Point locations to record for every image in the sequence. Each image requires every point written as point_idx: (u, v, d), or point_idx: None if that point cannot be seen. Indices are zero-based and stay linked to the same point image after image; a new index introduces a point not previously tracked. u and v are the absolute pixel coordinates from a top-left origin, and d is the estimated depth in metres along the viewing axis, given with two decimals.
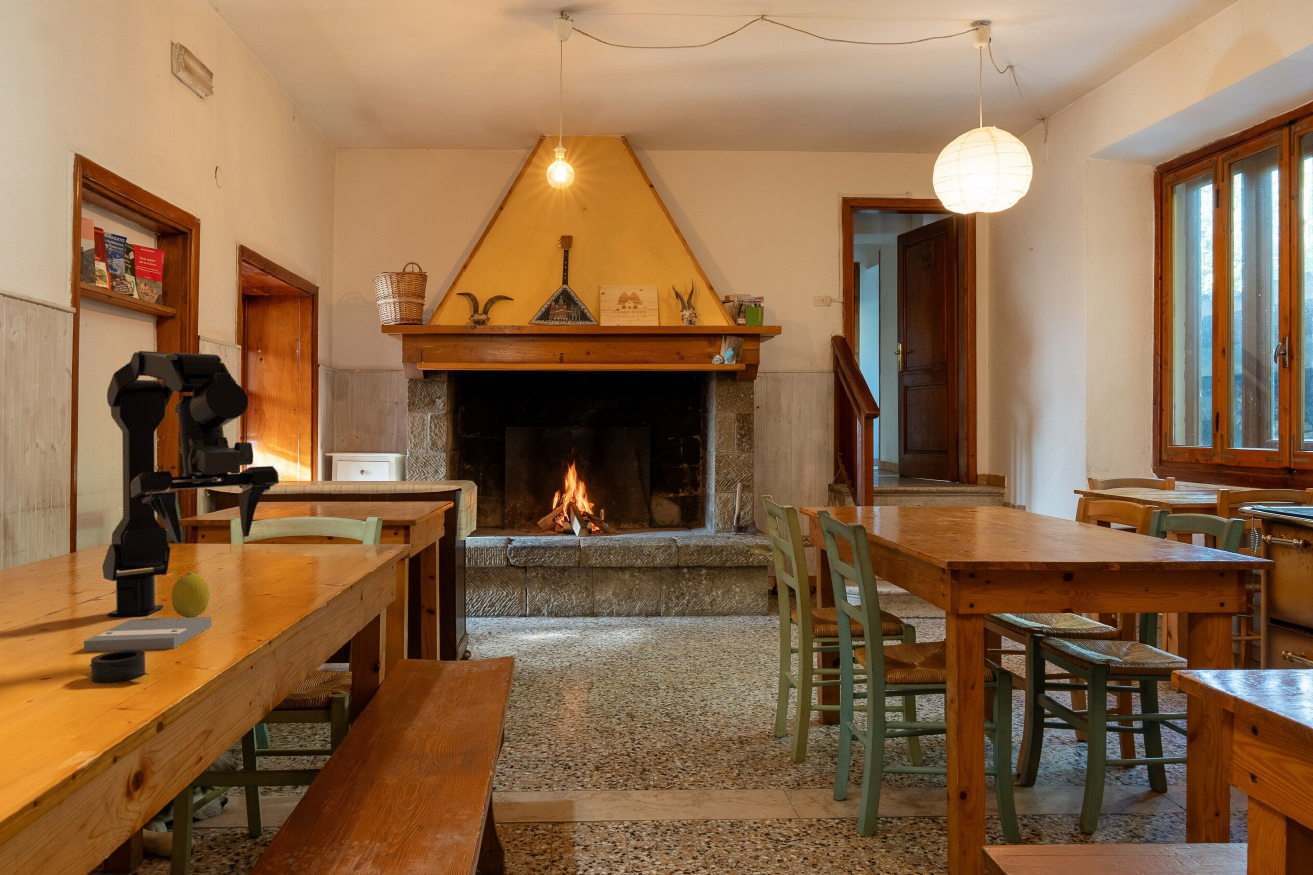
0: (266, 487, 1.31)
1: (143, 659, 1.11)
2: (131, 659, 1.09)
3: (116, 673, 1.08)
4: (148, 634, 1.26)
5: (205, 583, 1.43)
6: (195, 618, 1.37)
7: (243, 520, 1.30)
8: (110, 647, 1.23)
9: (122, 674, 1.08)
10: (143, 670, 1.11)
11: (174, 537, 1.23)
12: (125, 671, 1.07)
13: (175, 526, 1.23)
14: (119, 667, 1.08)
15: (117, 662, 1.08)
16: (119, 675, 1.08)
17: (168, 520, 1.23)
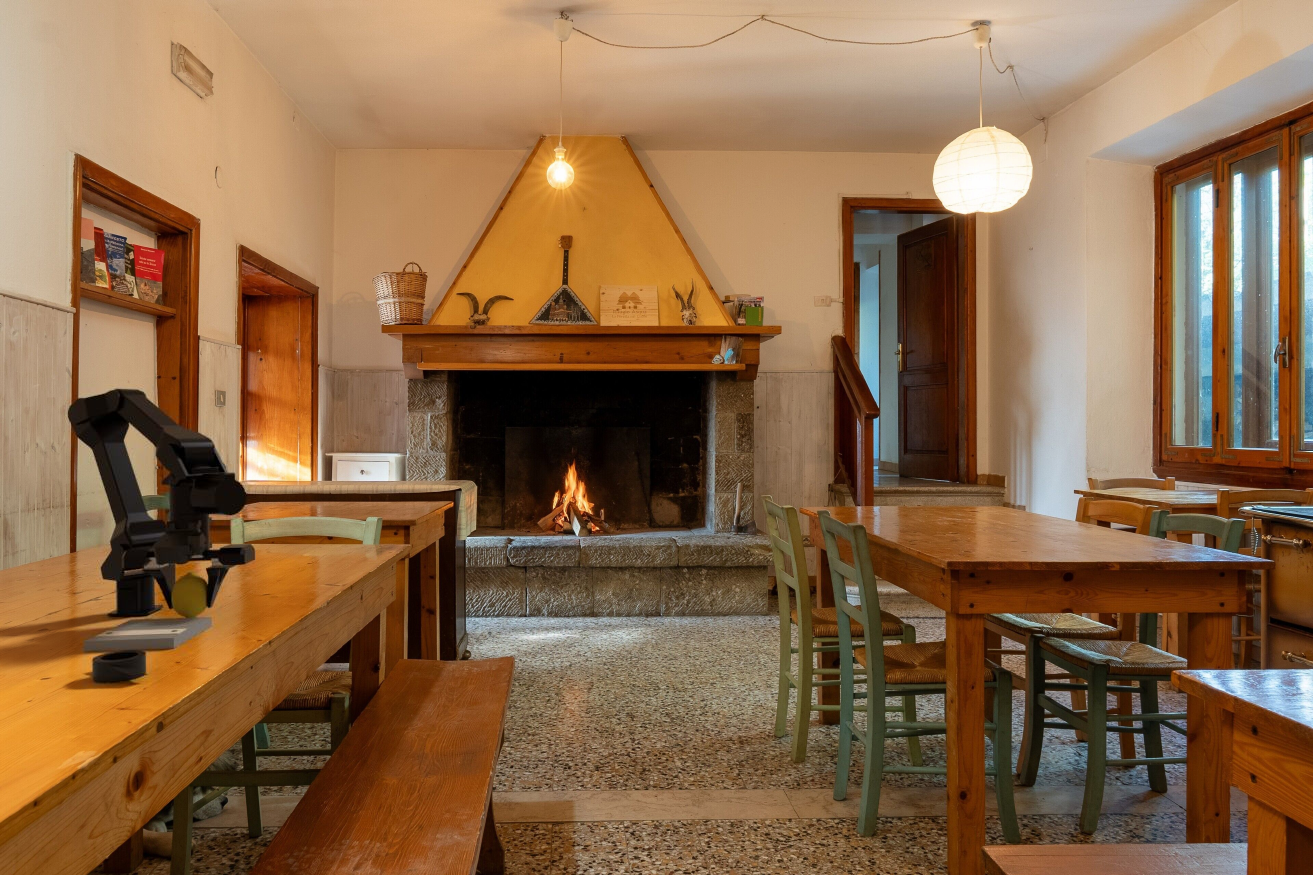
0: (219, 569, 1.41)
1: (144, 659, 1.11)
2: (131, 659, 1.09)
3: (116, 673, 1.08)
4: (148, 634, 1.26)
5: (205, 583, 1.43)
6: (195, 618, 1.37)
7: None
8: (110, 647, 1.23)
9: (122, 674, 1.08)
10: (144, 670, 1.11)
11: None
12: (124, 671, 1.07)
13: (166, 596, 1.41)
14: (119, 667, 1.08)
15: (117, 662, 1.08)
16: (119, 675, 1.08)
17: None
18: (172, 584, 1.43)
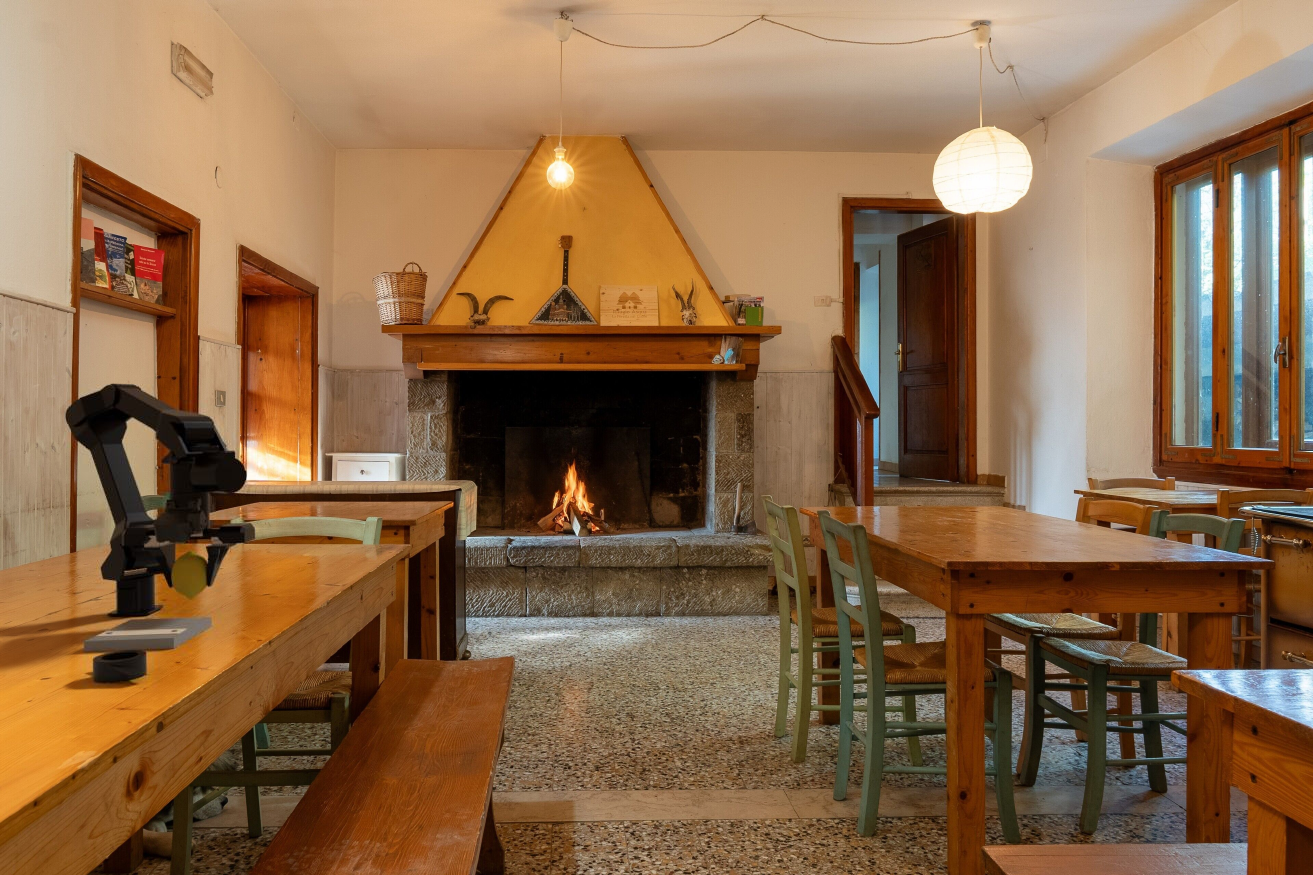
0: (219, 547, 1.40)
1: (144, 659, 1.11)
2: (131, 659, 1.09)
3: (116, 673, 1.08)
4: (148, 634, 1.26)
5: (205, 562, 1.43)
6: (195, 618, 1.37)
7: None
8: (110, 647, 1.23)
9: (122, 674, 1.08)
10: (144, 670, 1.11)
11: None
12: (124, 671, 1.07)
13: (166, 574, 1.41)
14: (119, 667, 1.08)
15: (117, 662, 1.08)
16: (119, 675, 1.08)
17: None
18: (172, 563, 1.43)
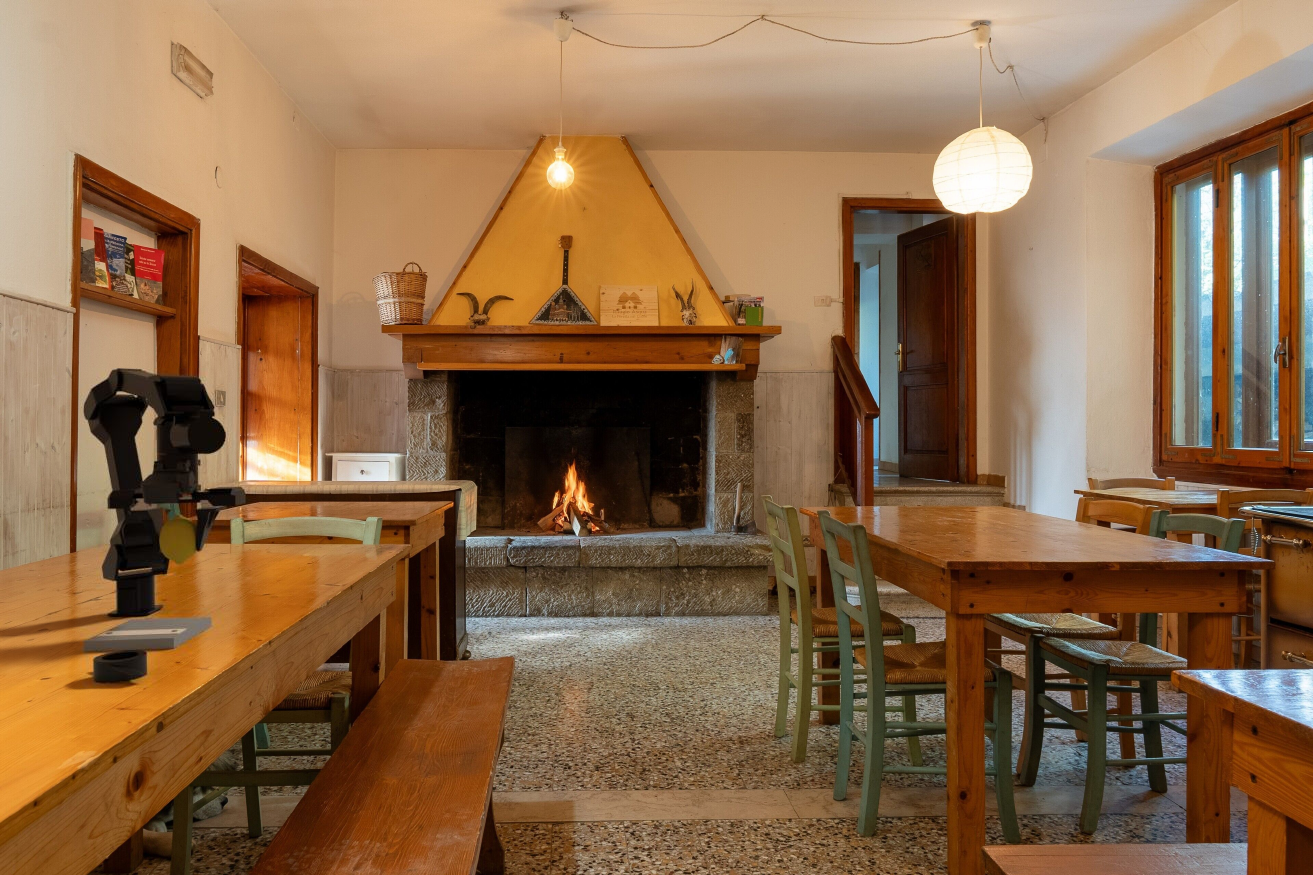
0: (209, 510, 1.36)
1: (144, 659, 1.11)
2: (131, 659, 1.09)
3: (115, 673, 1.08)
4: (148, 634, 1.26)
5: (194, 526, 1.39)
6: (195, 618, 1.37)
7: None
8: (110, 647, 1.23)
9: (121, 674, 1.08)
10: (144, 670, 1.11)
11: None
12: (123, 671, 1.07)
13: (154, 538, 1.37)
14: (118, 667, 1.08)
15: (116, 662, 1.08)
16: (118, 675, 1.08)
17: None
18: (160, 527, 1.39)
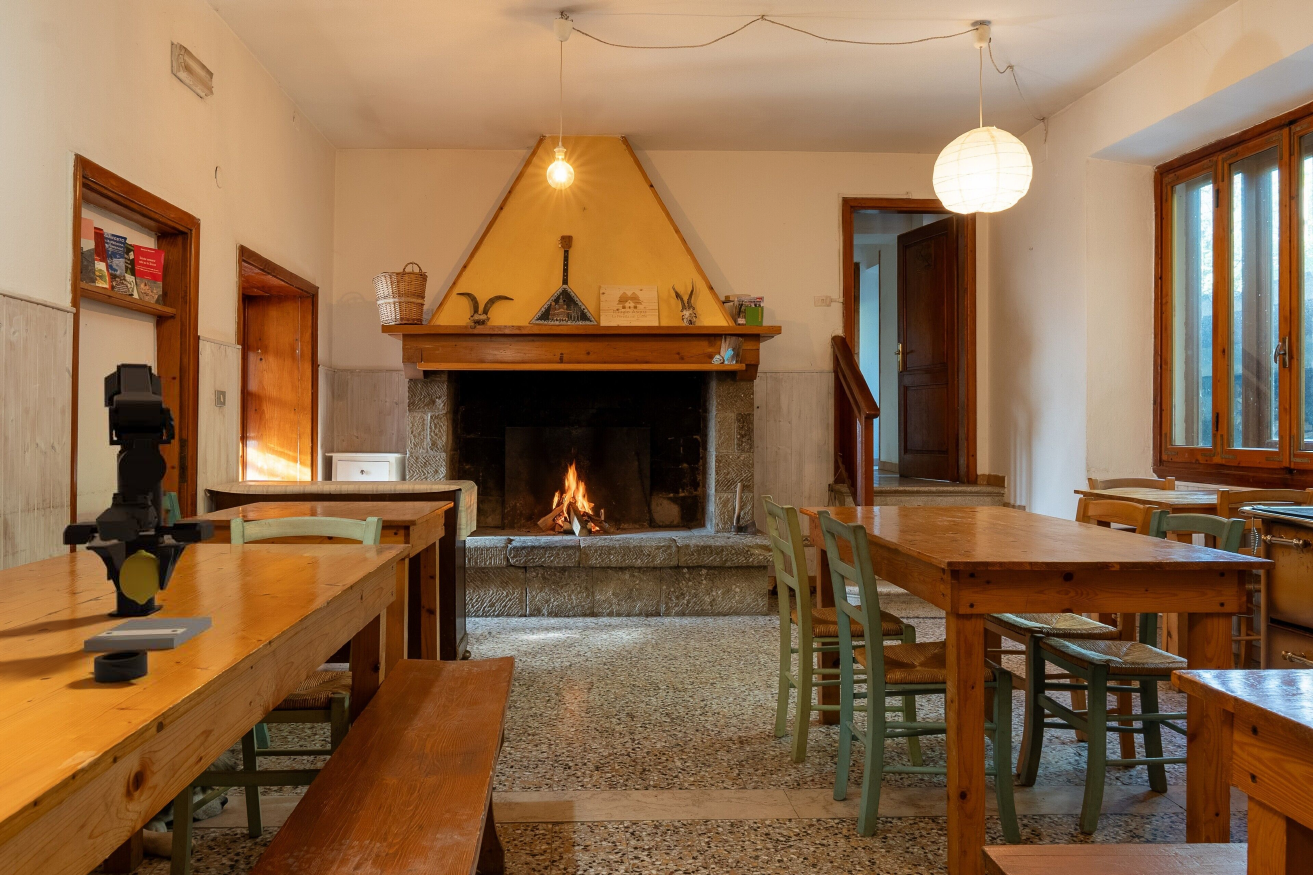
0: (173, 546, 1.26)
1: (145, 660, 1.11)
2: (131, 659, 1.09)
3: (115, 673, 1.08)
4: (148, 634, 1.26)
5: (157, 562, 1.28)
6: (195, 618, 1.37)
7: None
8: (110, 647, 1.23)
9: (121, 674, 1.08)
10: (144, 671, 1.11)
11: None
12: (123, 672, 1.07)
13: (113, 576, 1.26)
14: (118, 667, 1.08)
15: (116, 662, 1.08)
16: (118, 675, 1.08)
17: None
18: (121, 564, 1.28)
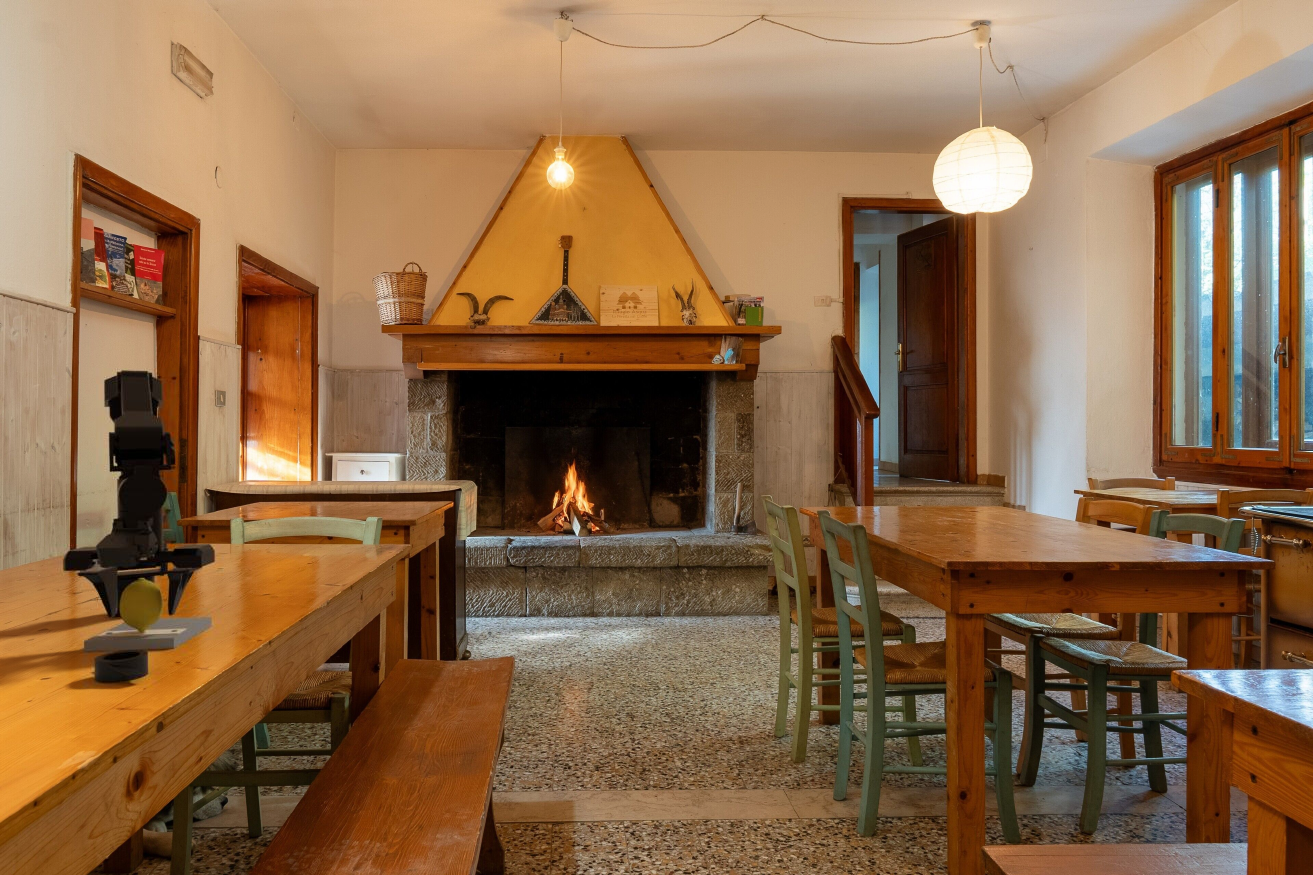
0: (181, 572, 1.26)
1: (145, 660, 1.11)
2: (131, 659, 1.09)
3: (115, 673, 1.08)
4: (148, 634, 1.26)
5: (158, 590, 1.28)
6: (195, 618, 1.37)
7: None
8: (110, 647, 1.23)
9: (121, 674, 1.08)
10: (145, 671, 1.11)
11: None
12: (122, 672, 1.07)
13: (105, 602, 1.26)
14: (118, 667, 1.08)
15: (116, 662, 1.08)
16: (118, 675, 1.08)
17: None
18: (113, 589, 1.28)
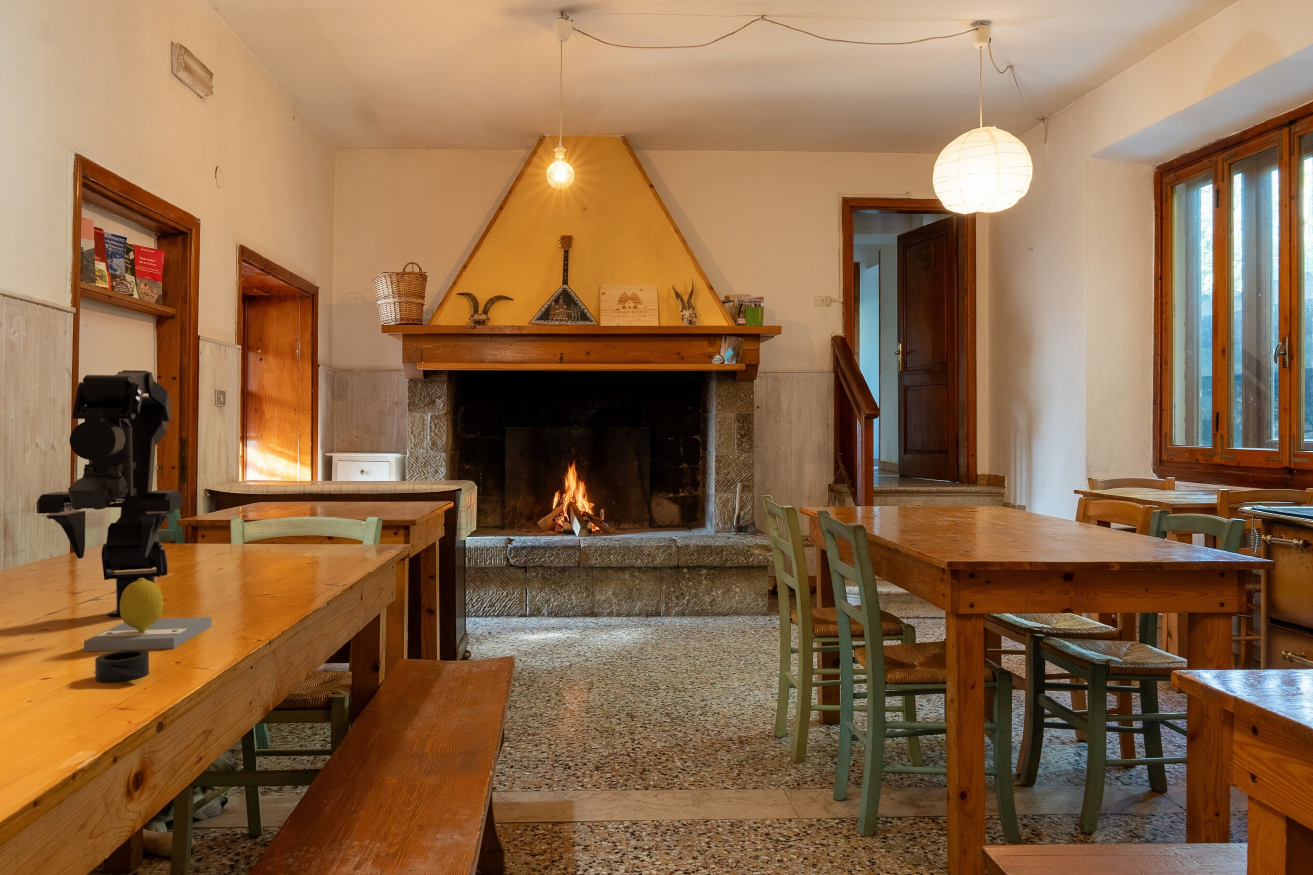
0: (154, 515, 1.32)
1: (145, 660, 1.11)
2: (131, 660, 1.09)
3: (115, 673, 1.08)
4: (148, 634, 1.26)
5: (158, 590, 1.28)
6: (195, 618, 1.37)
7: None
8: (110, 647, 1.23)
9: (121, 674, 1.08)
10: (145, 671, 1.11)
11: None
12: (121, 672, 1.07)
13: (74, 544, 1.33)
14: (118, 667, 1.08)
15: (116, 662, 1.08)
16: (118, 675, 1.08)
17: None
18: (81, 532, 1.34)
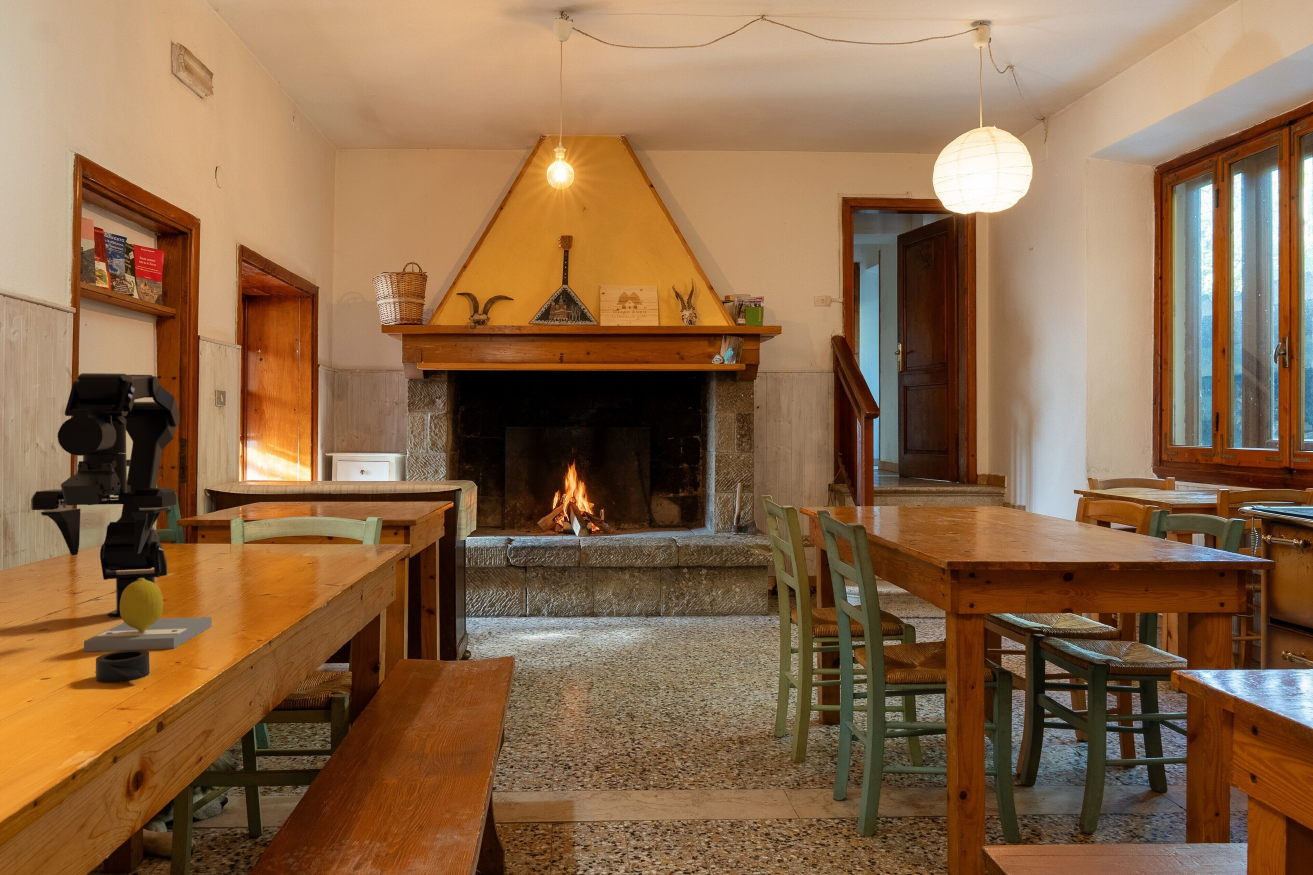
0: (146, 511, 1.33)
1: (145, 660, 1.11)
2: (130, 660, 1.09)
3: (115, 673, 1.08)
4: (148, 634, 1.26)
5: (158, 590, 1.28)
6: (195, 618, 1.37)
7: None
8: (110, 647, 1.23)
9: (121, 674, 1.08)
10: (145, 671, 1.11)
11: None
12: (121, 672, 1.07)
13: (68, 541, 1.34)
14: (117, 667, 1.08)
15: (116, 662, 1.08)
16: (118, 675, 1.08)
17: None
18: (75, 529, 1.35)
